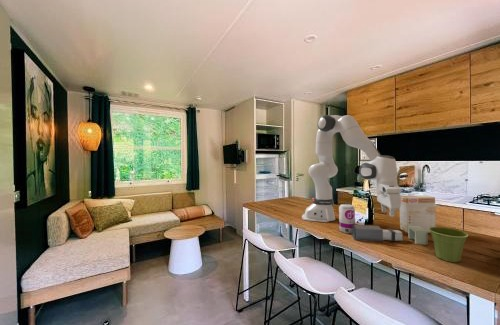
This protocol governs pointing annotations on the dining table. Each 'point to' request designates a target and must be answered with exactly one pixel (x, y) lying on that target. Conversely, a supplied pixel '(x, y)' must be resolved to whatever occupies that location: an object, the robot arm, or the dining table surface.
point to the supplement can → (346, 218)
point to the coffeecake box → (417, 212)
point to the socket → (418, 234)
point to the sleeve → (367, 233)
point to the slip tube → (392, 235)
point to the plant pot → (448, 243)
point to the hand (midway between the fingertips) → (387, 214)
